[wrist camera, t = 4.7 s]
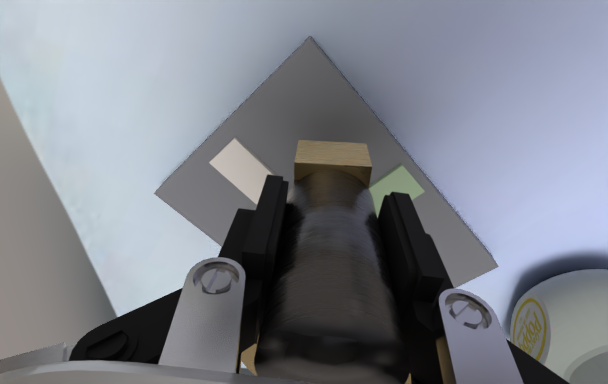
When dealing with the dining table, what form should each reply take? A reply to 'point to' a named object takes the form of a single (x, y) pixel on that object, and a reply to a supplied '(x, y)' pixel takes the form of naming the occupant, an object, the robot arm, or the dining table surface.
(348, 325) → the brass knob with handle
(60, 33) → the dining table surface
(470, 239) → the post base
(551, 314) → the air freshener
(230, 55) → the dining table surface
